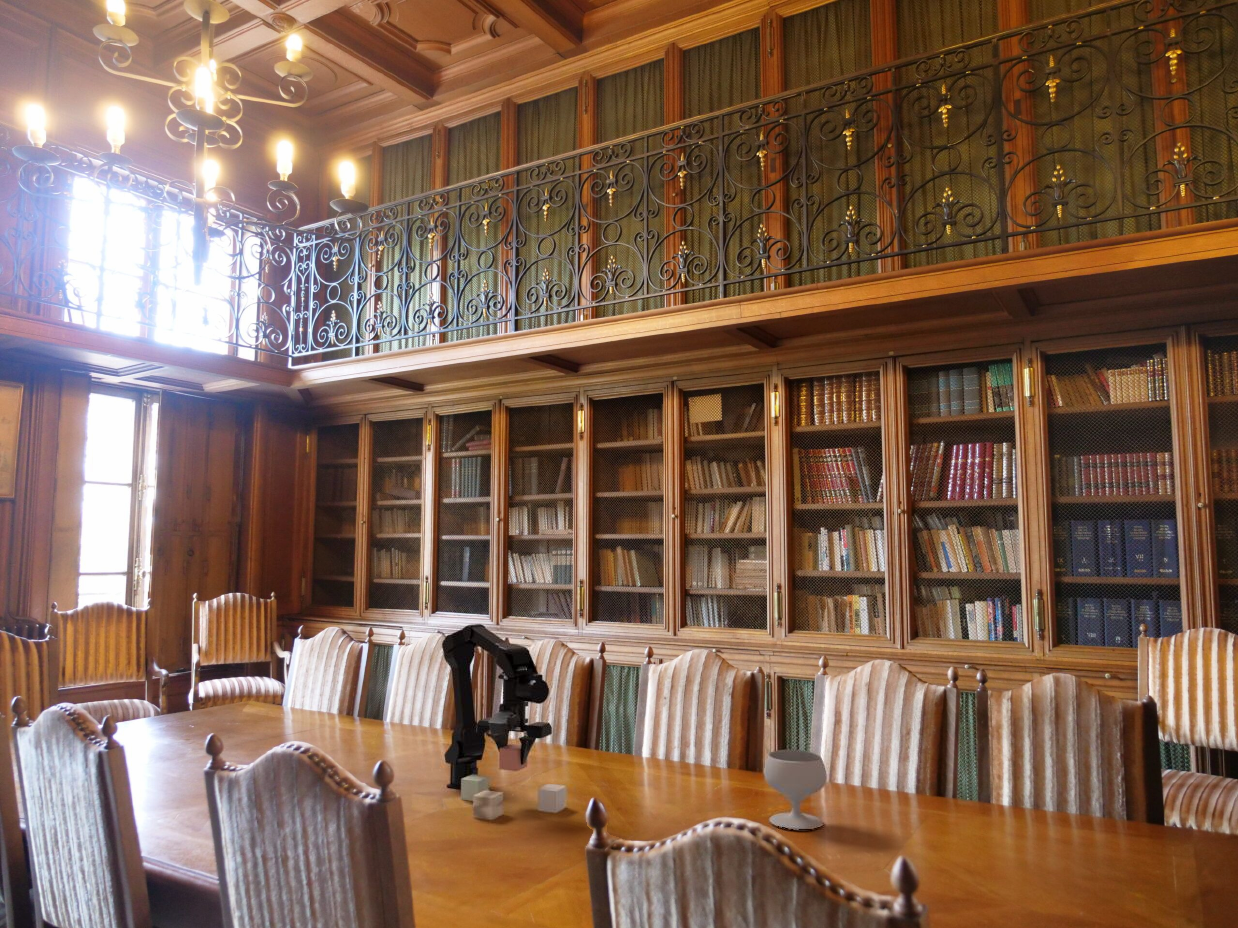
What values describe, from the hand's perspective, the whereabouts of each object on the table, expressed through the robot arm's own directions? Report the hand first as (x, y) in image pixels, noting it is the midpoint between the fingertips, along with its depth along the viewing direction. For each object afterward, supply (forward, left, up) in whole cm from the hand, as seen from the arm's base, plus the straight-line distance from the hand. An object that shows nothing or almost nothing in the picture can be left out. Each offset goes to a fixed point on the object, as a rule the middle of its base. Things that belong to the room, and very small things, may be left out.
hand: (513, 763), depth 207 cm
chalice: (+67, +13, -10) cm, 69 cm away
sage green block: (-11, 0, -10) cm, 15 cm away
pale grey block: (+11, 0, -10) cm, 15 cm away
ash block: (0, -11, -10) cm, 15 cm away
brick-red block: (0, 0, -1) cm, 1 cm away
